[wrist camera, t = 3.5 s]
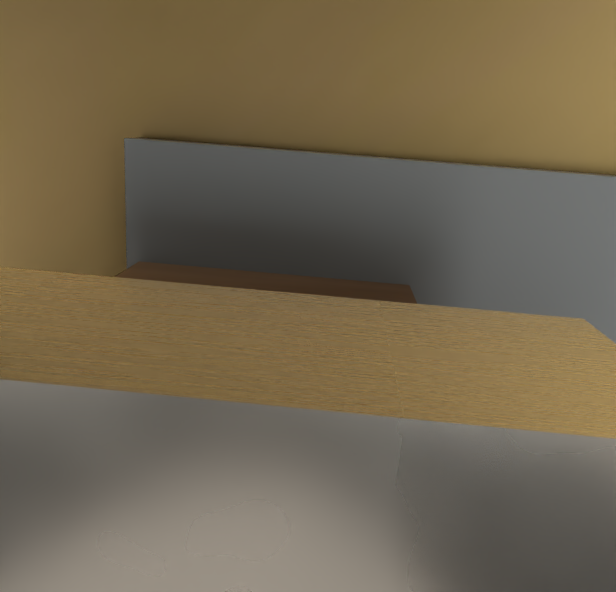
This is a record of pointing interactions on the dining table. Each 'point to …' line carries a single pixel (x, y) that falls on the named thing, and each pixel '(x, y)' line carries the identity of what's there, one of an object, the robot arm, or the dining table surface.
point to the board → (381, 224)
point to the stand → (270, 282)
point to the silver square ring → (297, 442)
